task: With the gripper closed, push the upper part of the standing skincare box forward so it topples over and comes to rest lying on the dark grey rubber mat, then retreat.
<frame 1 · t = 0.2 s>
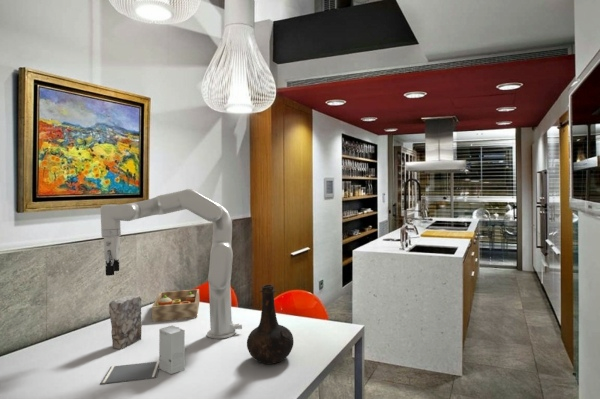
hand: (112, 273, 176), 31 cm above the table, fingers open, 9 cm apart
skincare box: (172, 369, 150), on the table
crate: (177, 311, 227), on the table
stone block: (127, 344, 178), on the table
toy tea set: (178, 310, 227), resting on crate
glass bottle: (270, 359, 157), on the table
mat: (132, 372, 148), on the table
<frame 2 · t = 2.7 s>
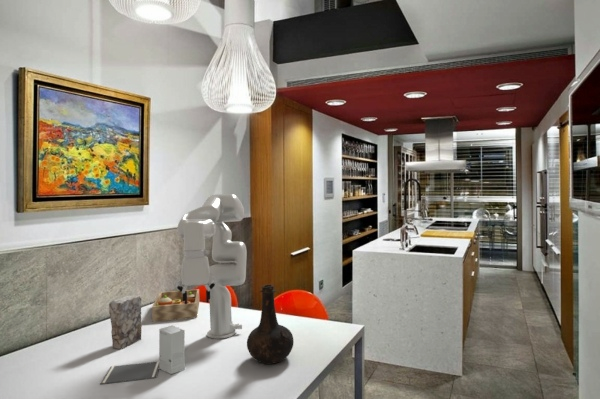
hand: (196, 302, 152), 24 cm above the table, fingers open, 7 cm apart
nothing on the table moved.
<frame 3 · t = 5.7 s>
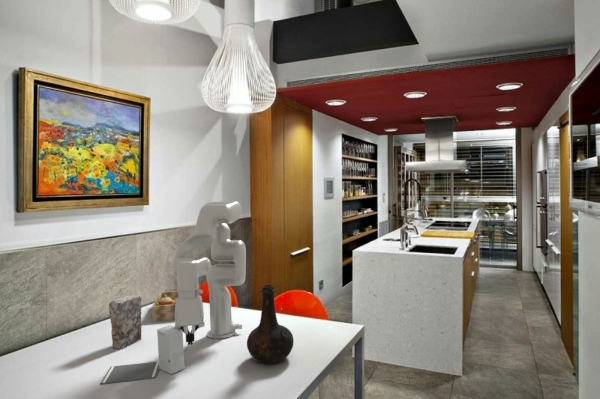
hand: (190, 343, 151), 9 cm above the table, fingers closed
nothing on the table moved.
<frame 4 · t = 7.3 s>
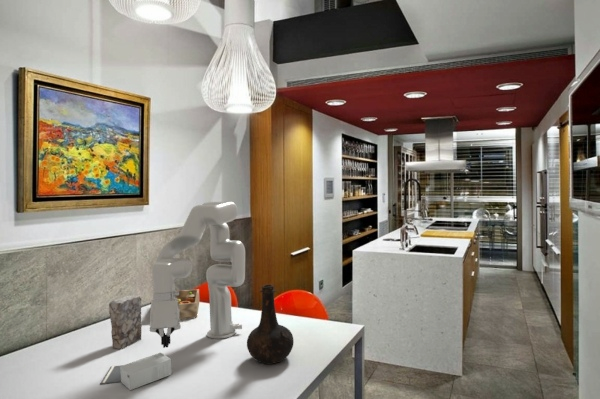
hand: (166, 346, 150), 9 cm above the table, fingers closed
skincare box: (167, 362, 147), point 4 cm above the table, touching mat
everything else where it was.
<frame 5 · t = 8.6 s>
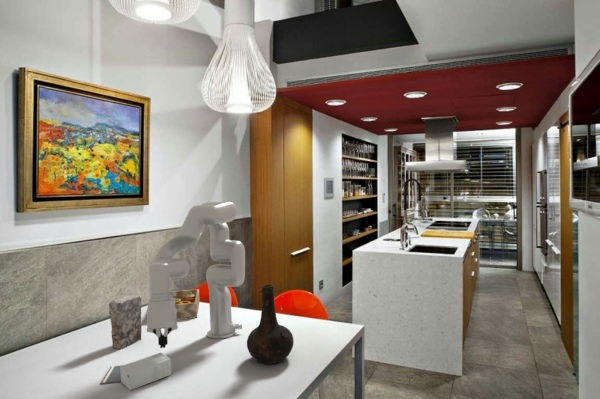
hand: (163, 346, 150), 9 cm above the table, fingers closed
nothing on the table moved.
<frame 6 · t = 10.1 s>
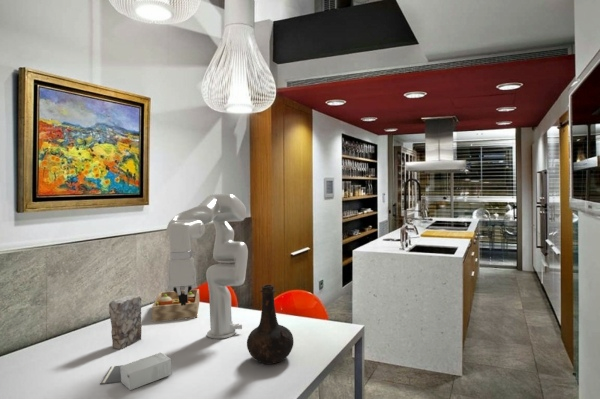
hand: (183, 304, 153), 23 cm above the table, fingers closed
nothing on the table moved.
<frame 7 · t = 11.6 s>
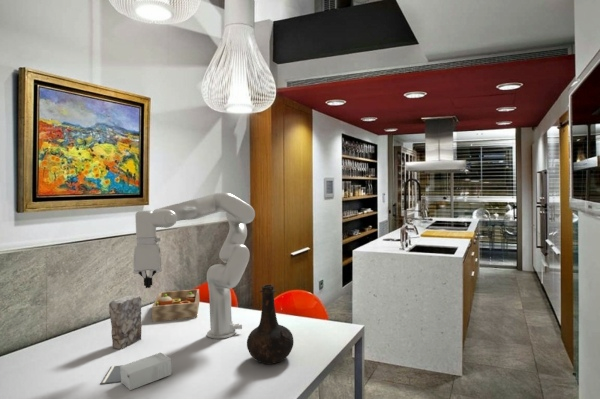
hand: (148, 287, 164), 27 cm above the table, fingers closed
nothing on the table moved.
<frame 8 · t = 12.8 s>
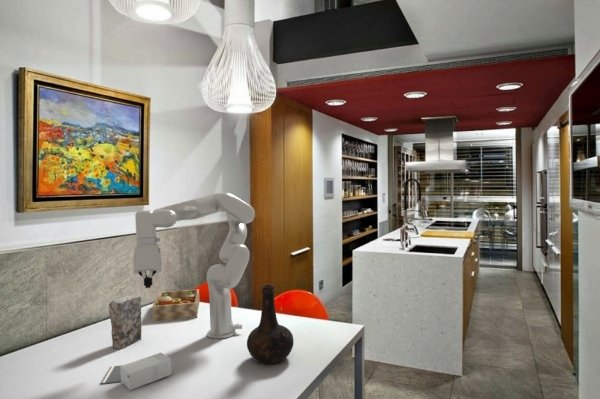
hand: (148, 287, 165), 27 cm above the table, fingers closed
nothing on the table moved.
at the end: skincare box tilted 94°; skincare box inside the target area (10.0 cm from its centre), point 3.7 cm above the table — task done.
